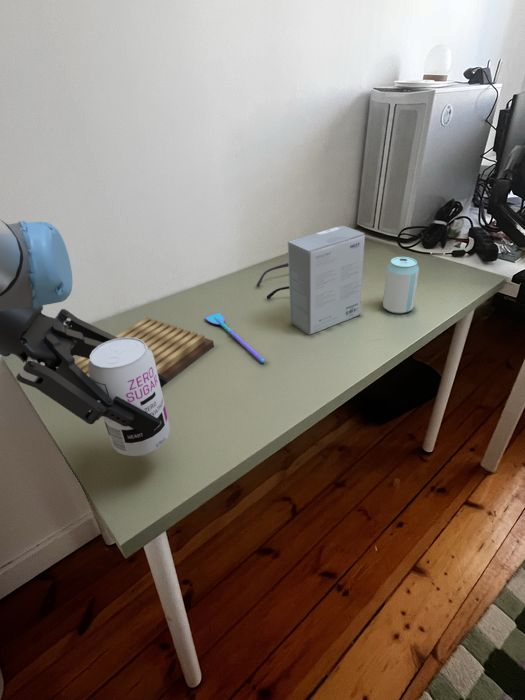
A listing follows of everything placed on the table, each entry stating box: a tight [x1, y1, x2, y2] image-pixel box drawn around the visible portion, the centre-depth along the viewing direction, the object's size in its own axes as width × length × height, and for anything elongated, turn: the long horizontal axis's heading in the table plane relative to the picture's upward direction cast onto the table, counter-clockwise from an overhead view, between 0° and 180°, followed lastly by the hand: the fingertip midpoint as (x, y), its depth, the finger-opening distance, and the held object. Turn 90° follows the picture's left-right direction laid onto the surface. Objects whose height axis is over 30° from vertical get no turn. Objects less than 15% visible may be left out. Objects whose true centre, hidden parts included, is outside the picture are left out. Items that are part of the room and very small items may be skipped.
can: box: [382, 256, 420, 315], centre depth 101 cm, size 7×7×12 cm
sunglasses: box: [256, 262, 289, 300], centre depth 116 cm, size 14×16×5 cm
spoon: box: [204, 312, 266, 364], centre depth 97 cm, size 25×4×1 cm, turn 35°
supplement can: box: [88, 337, 171, 457], centre depth 59 cm, size 8×8×15 cm
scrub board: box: [75, 316, 215, 401], centre depth 90 cm, size 26×20×3 cm
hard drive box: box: [287, 225, 366, 336], centre depth 97 cm, size 16×8×20 cm, turn 123°
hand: (158, 405), depth 60 cm, fingers closed on supplement can, 8 cm apart
